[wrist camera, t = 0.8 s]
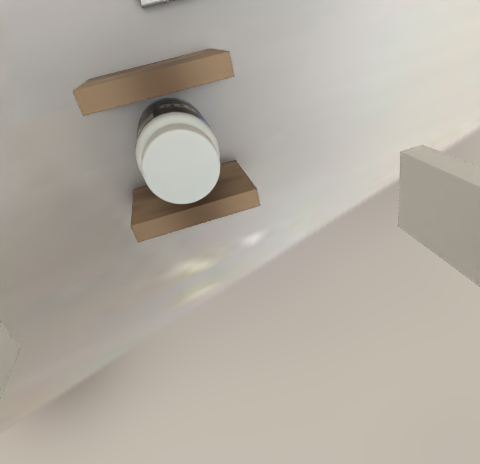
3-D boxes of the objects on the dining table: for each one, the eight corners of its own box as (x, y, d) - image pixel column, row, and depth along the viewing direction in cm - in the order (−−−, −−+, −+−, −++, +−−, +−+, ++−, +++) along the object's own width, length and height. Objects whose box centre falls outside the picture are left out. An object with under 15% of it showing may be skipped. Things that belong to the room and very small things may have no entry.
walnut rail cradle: (139, 203, 27) (137, 242, 22) (89, 79, 22) (72, 91, 17) (238, 174, 28) (260, 205, 22) (210, 48, 23) (229, 51, 18)
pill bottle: (216, 116, 25) (244, 147, 18) (188, 173, 27) (204, 223, 20) (153, 83, 23) (156, 103, 16) (127, 147, 25) (119, 192, 18)
